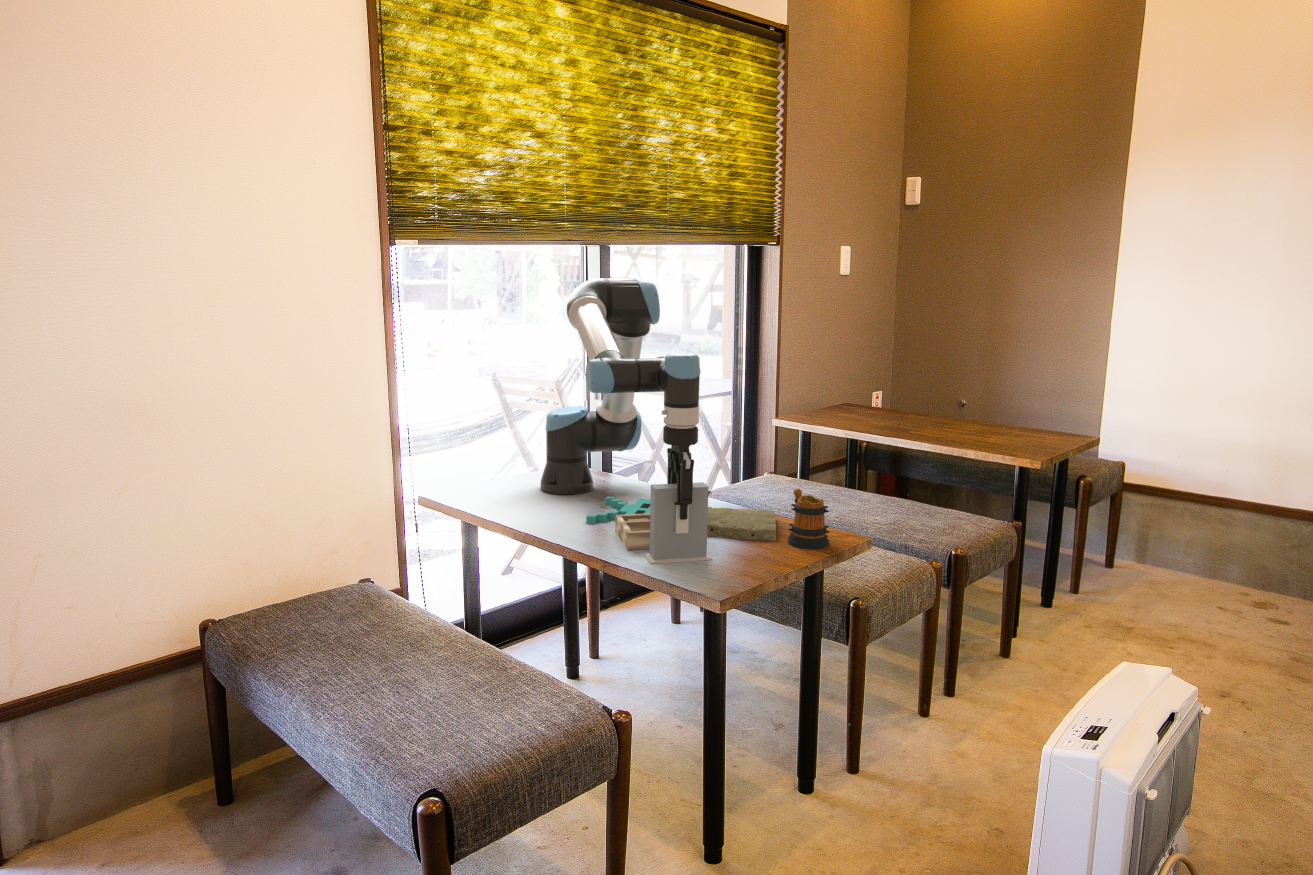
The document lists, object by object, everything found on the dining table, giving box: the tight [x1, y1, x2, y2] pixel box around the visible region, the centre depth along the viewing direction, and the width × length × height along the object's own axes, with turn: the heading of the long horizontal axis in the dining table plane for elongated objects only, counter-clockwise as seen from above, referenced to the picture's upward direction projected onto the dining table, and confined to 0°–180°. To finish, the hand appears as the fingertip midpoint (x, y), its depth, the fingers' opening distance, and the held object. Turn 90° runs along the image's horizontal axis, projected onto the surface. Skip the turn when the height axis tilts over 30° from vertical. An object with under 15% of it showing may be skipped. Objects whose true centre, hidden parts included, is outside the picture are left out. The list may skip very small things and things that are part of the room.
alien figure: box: [585, 495, 651, 524], centre depth 227 cm, size 20×2×20 cm
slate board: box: [649, 481, 709, 560], centre depth 193 cm, size 4×12×16 cm, turn 103°
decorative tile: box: [707, 506, 777, 541], centre depth 218 cm, size 19×20×4 cm
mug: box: [787, 488, 830, 551], centre depth 207 cm, size 13×10×12 cm
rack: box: [614, 513, 650, 551], centre depth 208 cm, size 15×18×4 cm
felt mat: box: [643, 552, 713, 565], centre depth 195 cm, size 6×14×1 cm, turn 103°
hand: (678, 528), depth 194 cm, fingers open, 5 cm apart
